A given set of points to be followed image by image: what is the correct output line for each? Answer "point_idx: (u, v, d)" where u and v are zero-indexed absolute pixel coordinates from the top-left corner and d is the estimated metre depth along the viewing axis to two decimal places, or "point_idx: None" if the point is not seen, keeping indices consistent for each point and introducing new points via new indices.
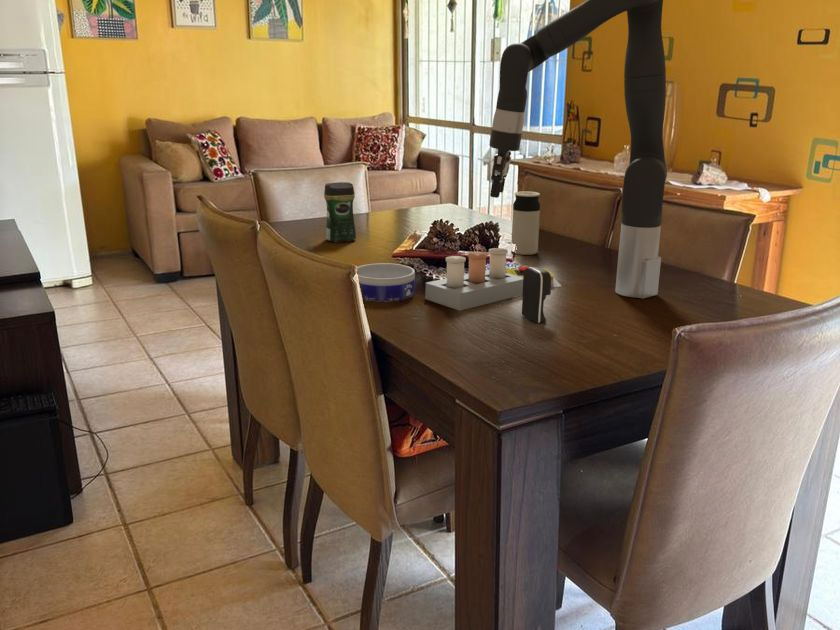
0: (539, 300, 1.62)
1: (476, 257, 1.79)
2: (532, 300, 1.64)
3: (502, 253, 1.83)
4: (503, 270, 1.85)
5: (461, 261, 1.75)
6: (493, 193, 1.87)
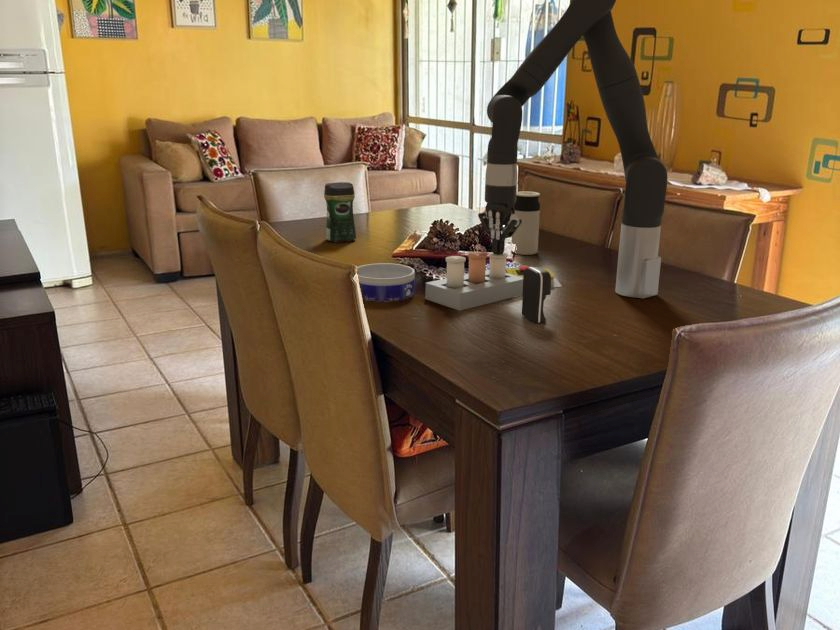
0: (539, 300, 1.62)
1: (476, 257, 1.79)
2: (532, 300, 1.64)
3: (502, 257, 1.84)
4: (503, 274, 1.85)
5: (461, 261, 1.75)
6: (501, 251, 1.84)
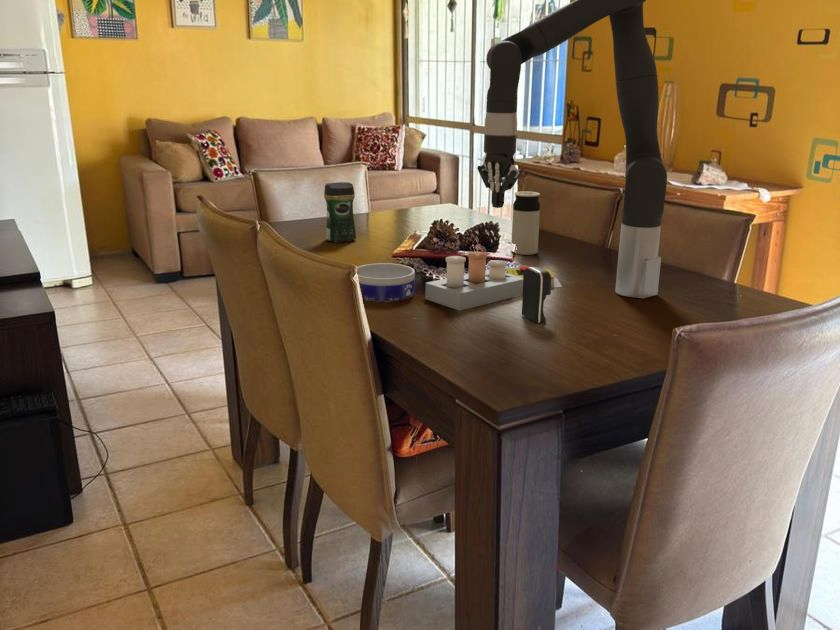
0: (539, 300, 1.62)
1: (476, 257, 1.79)
2: (532, 300, 1.64)
3: (501, 265, 1.84)
4: None
5: (461, 261, 1.75)
6: (500, 203, 1.80)
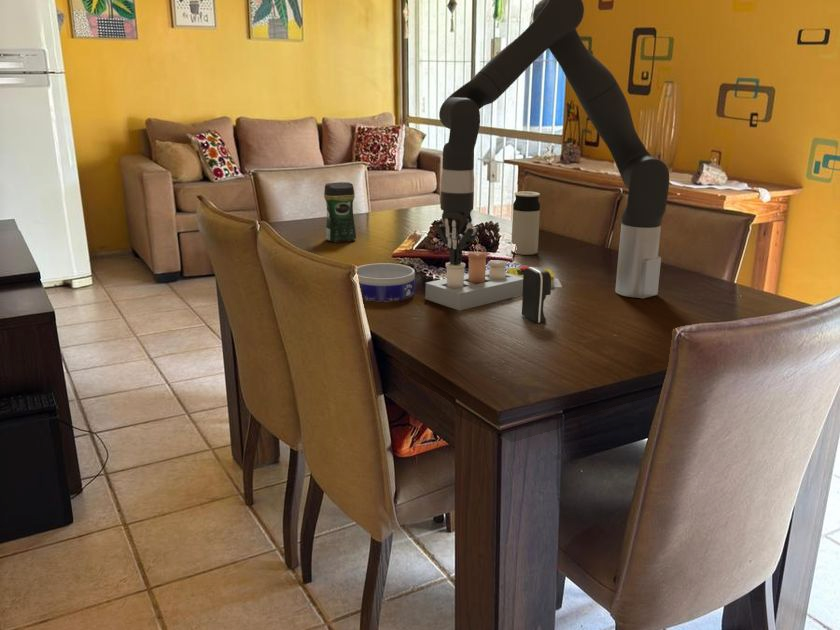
0: (539, 300, 1.62)
1: (476, 257, 1.79)
2: (532, 300, 1.64)
3: (501, 265, 1.84)
4: None
5: (461, 267, 1.75)
6: (458, 261, 1.76)
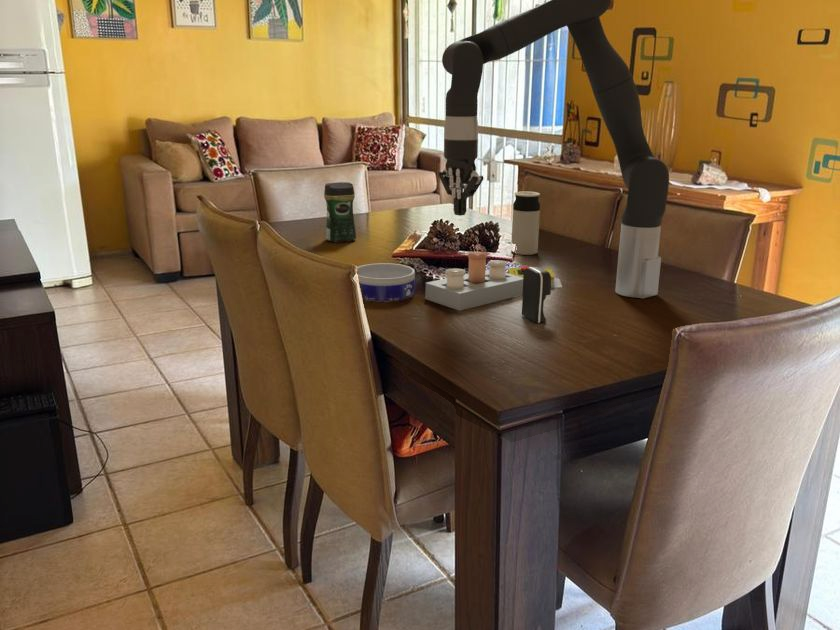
0: (539, 300, 1.62)
1: (476, 257, 1.79)
2: (532, 300, 1.64)
3: (501, 265, 1.84)
4: None
5: (461, 274, 1.76)
6: (463, 211, 1.72)
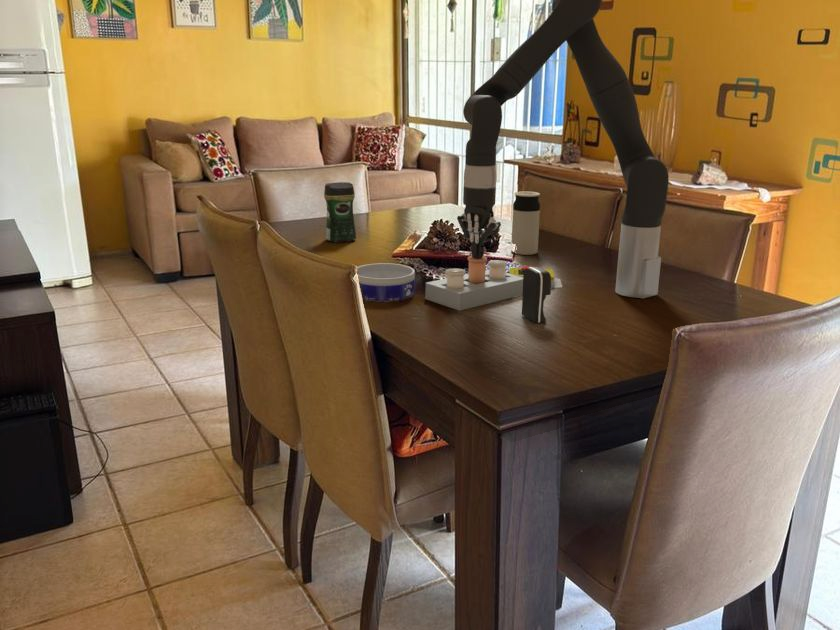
0: (539, 300, 1.62)
1: (476, 261, 1.79)
2: (532, 300, 1.64)
3: (501, 265, 1.84)
4: None
5: (461, 274, 1.76)
6: (480, 254, 1.80)
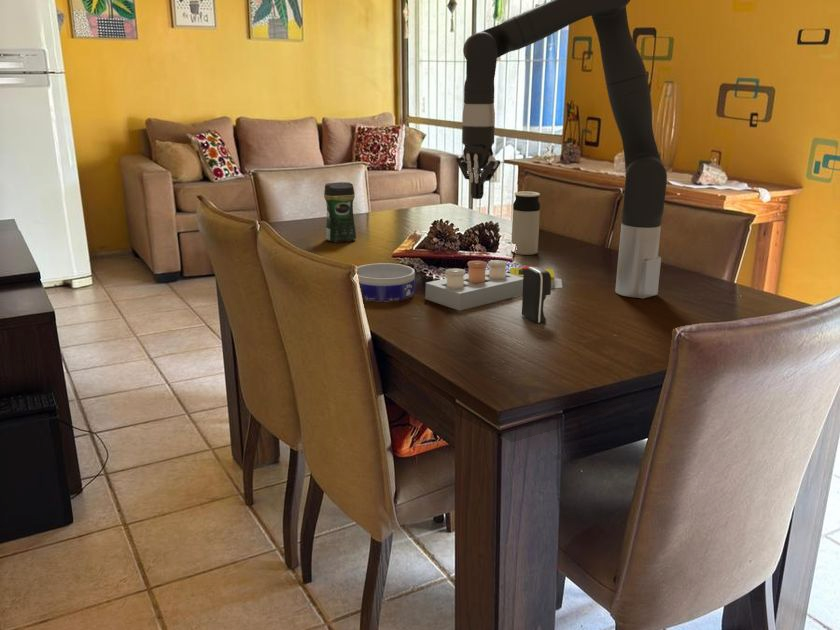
0: (539, 300, 1.62)
1: (476, 266, 1.79)
2: (532, 300, 1.64)
3: (501, 265, 1.84)
4: None
5: (461, 274, 1.76)
6: (480, 194, 1.81)
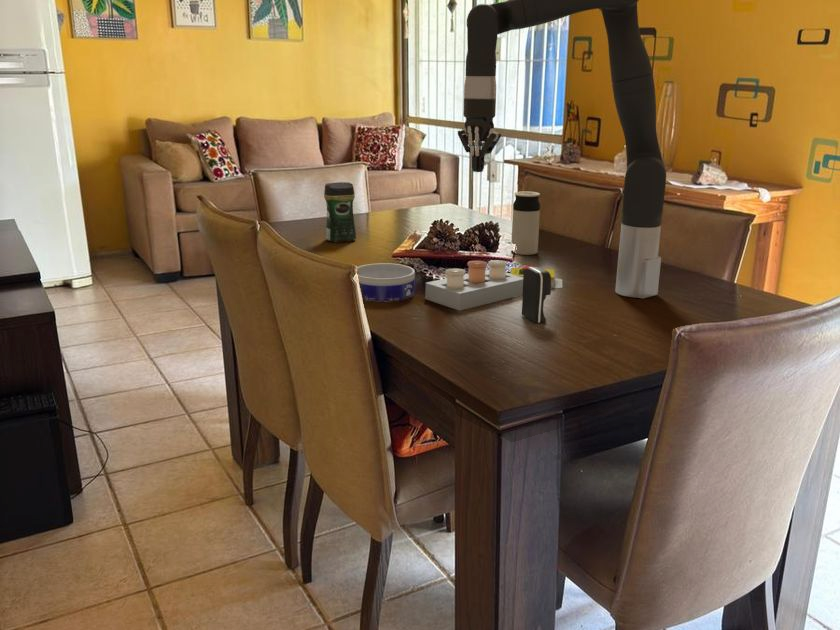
0: (539, 300, 1.62)
1: (476, 266, 1.79)
2: (532, 300, 1.64)
3: (501, 265, 1.84)
4: None
5: (461, 274, 1.76)
6: (480, 168, 1.81)
